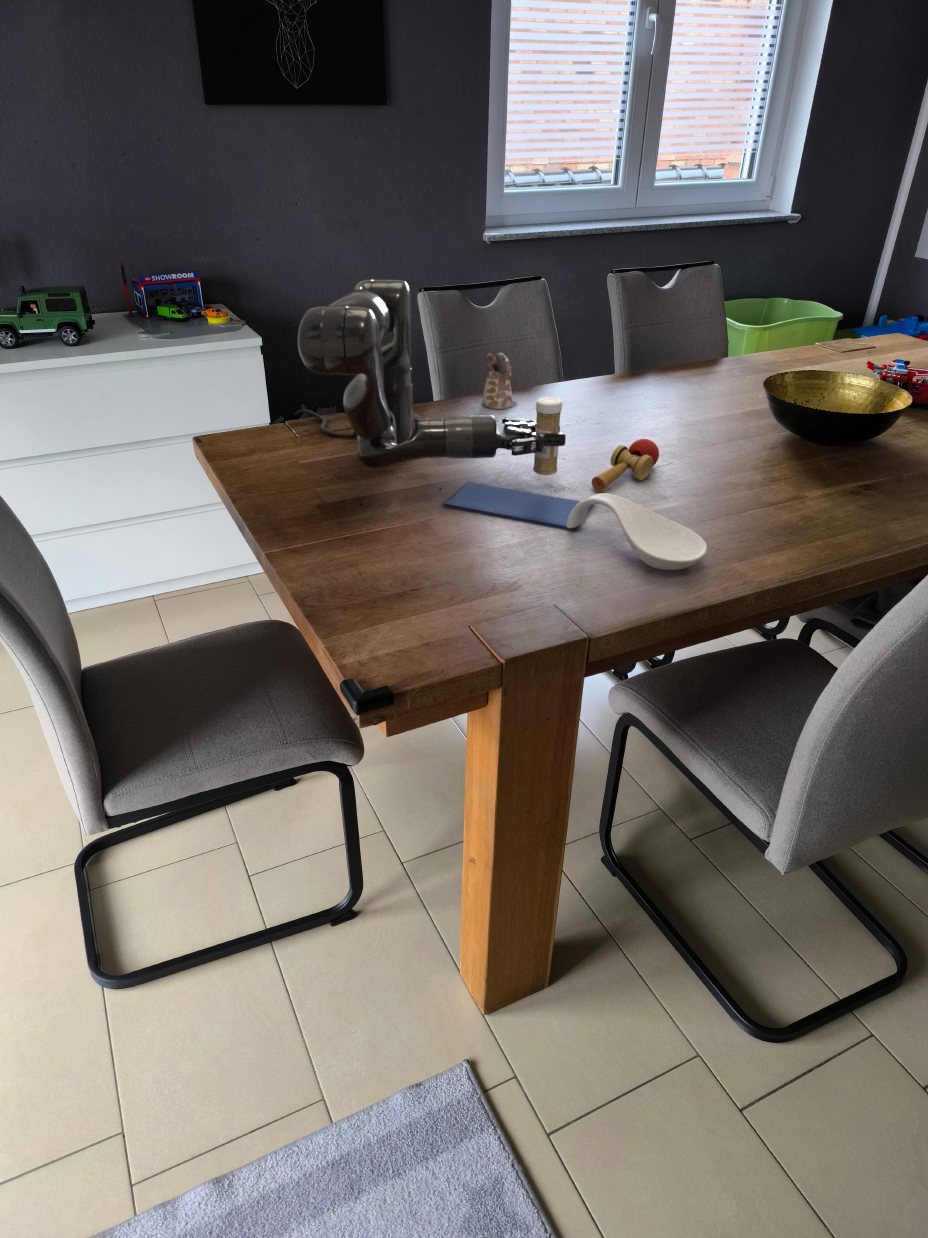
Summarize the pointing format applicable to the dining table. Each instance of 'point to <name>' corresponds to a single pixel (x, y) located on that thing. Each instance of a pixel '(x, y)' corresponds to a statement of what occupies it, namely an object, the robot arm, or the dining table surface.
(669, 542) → the spoon rest
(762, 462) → the dining table surface
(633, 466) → the kendama
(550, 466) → the spice jar
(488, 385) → the figurine
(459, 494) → the blue flat rectangular slab
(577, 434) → the dining table surface
